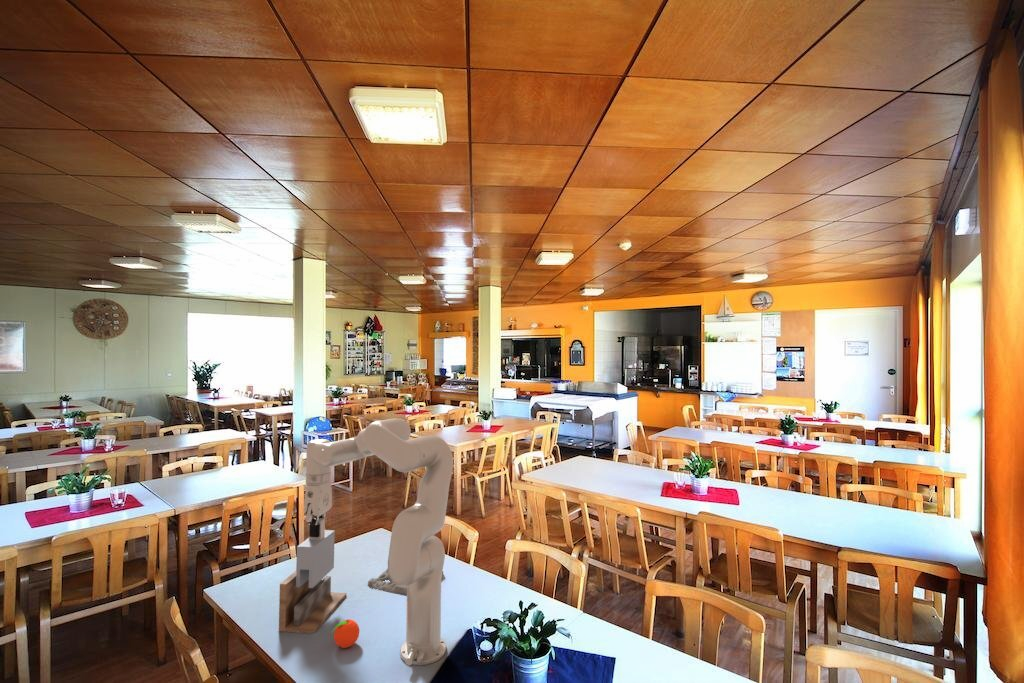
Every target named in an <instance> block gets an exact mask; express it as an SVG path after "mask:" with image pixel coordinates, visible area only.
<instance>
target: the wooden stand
mask: <svg viewBox="0 0 1024 683" xmlns="http://www.w3.org/2000/svg"><path fill="white" fill-rule="evenodd" d="M331 579H332V576H331V575H326V576H325V577H324V578H323V579H322V580H321V581H319V582H318V583H317V584H316V585H315V586H314V587H313V588H309V579H308V580H307V581H306V582H305V583H304V584H303V585H302V586H301V587H296V570H295V571H293V572H292V573H291V574H289V576H288V577H287V578H285V579H284V580H283V581H282V582H280V583H279V601H278V602H279V603H278V604H279V605H278V607H279V608H278V609H279V610H278V632H283V633H284V632H288V633H299V634H300V633H302V634H315V632H316V631H317V630H318V629H319V628H320V626H321V625H323V623H324V622H325V621H326V620H327V619H328V617H329V616H331V614H333V612H334V611H335V609H337V608H338V606H339V605H340V604H341V602H343V600H344V599H345V598H346V597H347V593H346V592H334V591H333V592H332V591H331V590H332V588H331V587H332V582H331V581H332V580H331Z"/></svg>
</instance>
